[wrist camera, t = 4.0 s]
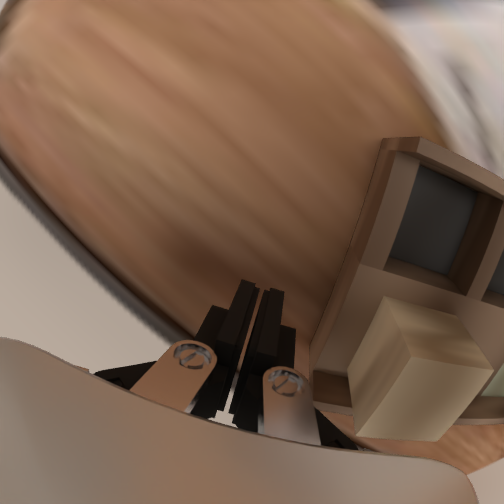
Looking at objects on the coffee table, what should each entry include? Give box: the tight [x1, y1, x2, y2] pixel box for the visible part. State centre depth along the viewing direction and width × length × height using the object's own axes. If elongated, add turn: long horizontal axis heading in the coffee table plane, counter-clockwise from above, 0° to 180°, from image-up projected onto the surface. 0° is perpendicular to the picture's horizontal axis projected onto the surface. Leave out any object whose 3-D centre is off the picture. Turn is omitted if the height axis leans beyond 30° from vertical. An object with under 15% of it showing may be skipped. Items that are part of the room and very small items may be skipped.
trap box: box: [309, 137, 504, 425], centre depth 11 cm, size 15×11×4 cm
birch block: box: [347, 296, 494, 441], centre depth 10 cm, size 4×4×4 cm
